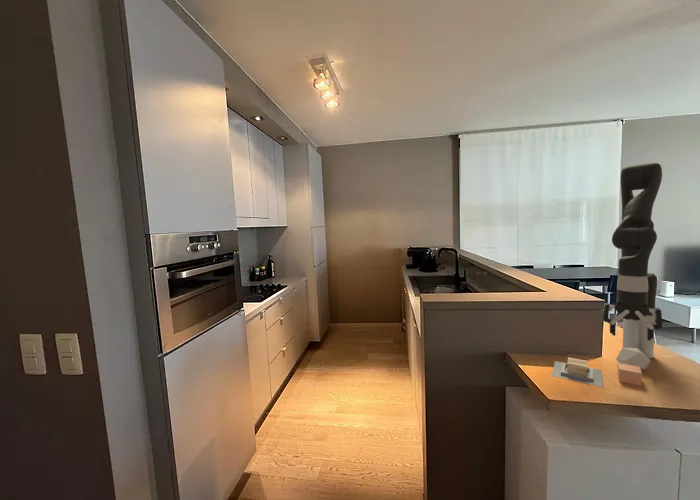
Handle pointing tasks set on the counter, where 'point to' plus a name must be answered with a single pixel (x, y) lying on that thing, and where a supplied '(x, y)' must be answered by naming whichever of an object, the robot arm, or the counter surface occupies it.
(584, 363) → the base block
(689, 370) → the counter surface
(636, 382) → the top block
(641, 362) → the grey faceted rock
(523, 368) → the counter surface
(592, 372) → the base plate
